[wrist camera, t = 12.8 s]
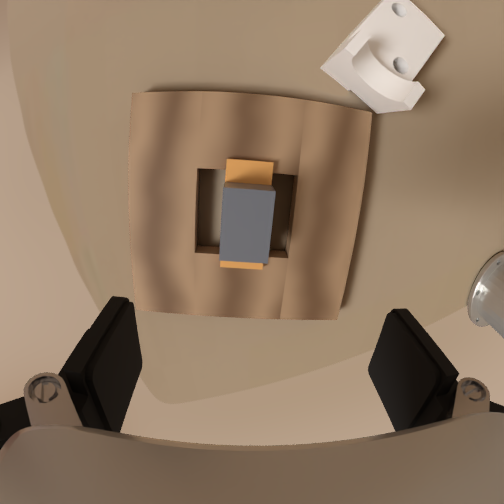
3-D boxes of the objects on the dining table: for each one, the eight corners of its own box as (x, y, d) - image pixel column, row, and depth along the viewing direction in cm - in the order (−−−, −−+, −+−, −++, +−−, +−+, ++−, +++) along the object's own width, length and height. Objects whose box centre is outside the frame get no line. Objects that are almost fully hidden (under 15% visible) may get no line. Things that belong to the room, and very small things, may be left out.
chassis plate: (363, 113, 26) (372, 112, 24) (332, 310, 34) (337, 319, 32) (139, 95, 25) (132, 93, 23) (141, 300, 32) (136, 309, 31)
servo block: (270, 160, 28) (278, 165, 22) (260, 258, 31) (265, 285, 26) (227, 157, 27) (225, 161, 22) (221, 255, 31) (218, 282, 25)
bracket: (373, 114, 26) (410, 110, 19) (319, 68, 25) (344, 48, 18) (427, 41, 23) (467, 27, 16) (381, -1, 21) (413, -26, 14)
